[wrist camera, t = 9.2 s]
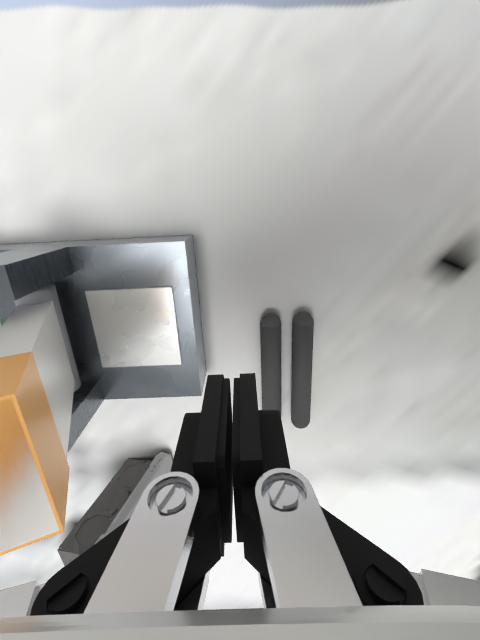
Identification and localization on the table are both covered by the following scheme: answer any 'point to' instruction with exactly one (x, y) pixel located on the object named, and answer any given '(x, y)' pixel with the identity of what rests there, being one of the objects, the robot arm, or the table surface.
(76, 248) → the double window frame
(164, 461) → the electrical switch
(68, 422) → the breaker lever
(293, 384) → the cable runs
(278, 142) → the table surface
